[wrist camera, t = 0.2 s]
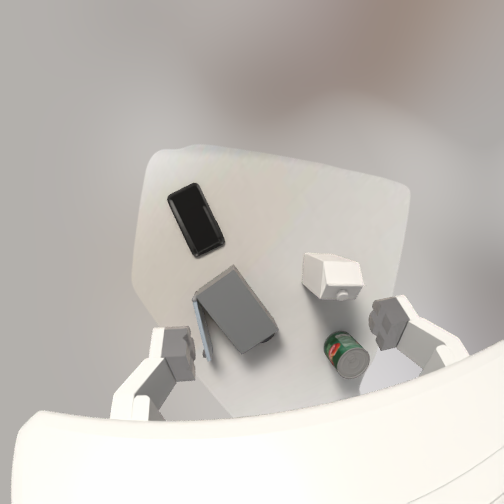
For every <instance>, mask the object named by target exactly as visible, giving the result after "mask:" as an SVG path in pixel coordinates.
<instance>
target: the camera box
mask: <svg viewBox="0 0 504 504" xmlns="http://www.w3.org/2000/svg"><path fill="white" fill-rule="evenodd" d="M196 298H197V299H198V300H199V302H200V303H201V304H202V306H203V307H204V308H205V309H206V311H207V312H208V313H209V315H210V316H211V317H212V318H213V320H214V321H215V322H216V324H217V325H218V326H219V327H220V329H221V330H222V331H223V332H224V334H225V335H226V336H227V337H228V339H229V340H230V341H231V342H232V343H233V345H234V346H235V347H236V348H237V350H238V351H239V352H240V353H241V354H243V353H245V352H246V351H248V350H249V349H251V348H253V347H254V346H256V345H257V344H259V343H264V342H267V341H268V340H270V339H271V338H272V337H273V336H274V334H275V332H276V331H278V327H277V325H276V323H275V320H274V319H273V317H272V316H271V315H270V313H269V312H268V311H267V309H266V308H265V307H264V305H263V304H262V302H261V301H260V300H259V298H258V297H257V296H256V294H255V293H254V292H253V290H252V289H251V287H250V286H249V285H248V283H247V282H246V281H245V279H244V278H243V277H242V275H241V274H240V272H239V271H238V270H237V268H236V267H235V266H234V265H232V266H231V267H229V268H228V269H227V270H225V271H224V272H222V273H221V274H220V275H218V276H217V277H215V278H214V279H213V280H211V281H210V282H208V283H207V284H205V285H204V286H203V287H201V288H200V289H199V291H198V293H197V295H196Z"/></svg>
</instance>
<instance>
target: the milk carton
mask: <svg viewBox="0 0 504 504" xmlns="http://www.w3.org/2000/svg"><path fill="white" fill-rule="evenodd" d="M302 284H303V285H305V286H306V287H307V288H308V289H309V290H310V291H311V292H312V293H314V294H315V295H316V296H317V297H318V298H319V299H323V300H338V301H344V300H350V299H356V297H357V295H358V294H359V292H360V290H361V289H362V287H363V286H366V285H365V284H364V283H363V278H362V274H361V269H360V265H359V263H358V262H355V261H352V260H349V259H346V258H343V257H340V256H337V255H334V254H324V253H304V261H303V275H302Z"/></svg>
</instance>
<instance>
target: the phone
mask: <svg viewBox="0 0 504 504" xmlns="http://www.w3.org/2000/svg"><path fill="white" fill-rule="evenodd" d="M167 200H168V203H169V205H170V207H171V210H172V212H173V214H174V216H175V218H176V221H177V223H178V225H179V227H180V229H181V231H182V233H183V235H184V238H185V240H186V242H187V244H188V246H189V248H190V250H191V252H192V254H193V255H194V256H199V255H201V254H204V253H206V252H208V251H210V250H212V249H214V248H216V247H218V246H220V245H222V244H223V243H224V237H223V235H222V232H221V231H220V228H219V226H218V223H217V221H216V220H215V218H214V216H213V214H212V212H211V210H210V207H209V205H208V203H207V201H206V199H205V197H204V195H203V193H202V190H201V188H200V186H199V185H198V184H197V183H192V184H190V185H188V186H186V187H184V188H182V189H180V190H178V191H176V192H174V193H172V194H170V195H169V196H168V198H167Z"/></svg>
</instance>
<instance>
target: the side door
mask: <svg viewBox="0 0 504 504" xmlns="http://www.w3.org/2000/svg"><path fill="white" fill-rule="evenodd" d="M197 293H198V291H196V292H195V294H194V296H193V298H192V301H193V305H194V309H195V313H196V318H197V322H198V326H199V330H200V334H201V338H202V342H203V346H204V350H203V357H204V358H206V357H207V361H211V358H212V351H213V349H212V345H211V341H210V337H209V333H208V329H207V324H206V320H205V316H204V312H203V307H202V304H201V303H200V302H199V300H198V299H197V298H196V295H197Z"/></svg>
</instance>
